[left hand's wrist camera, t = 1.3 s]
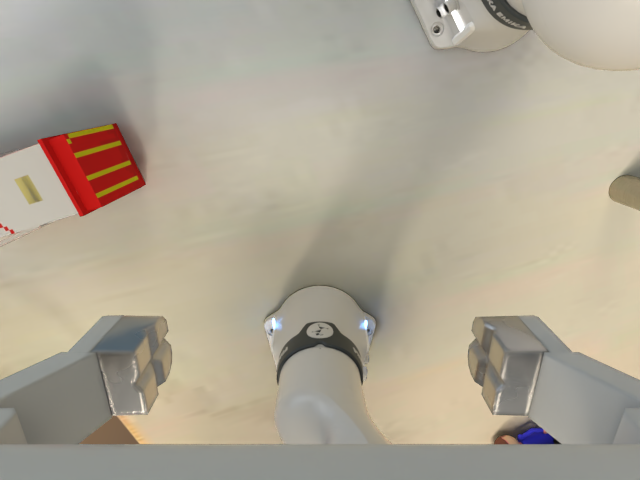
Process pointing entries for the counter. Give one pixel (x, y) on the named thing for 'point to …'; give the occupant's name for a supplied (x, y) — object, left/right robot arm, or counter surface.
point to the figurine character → (528, 438)
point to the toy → (64, 179)
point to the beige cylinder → (626, 191)
